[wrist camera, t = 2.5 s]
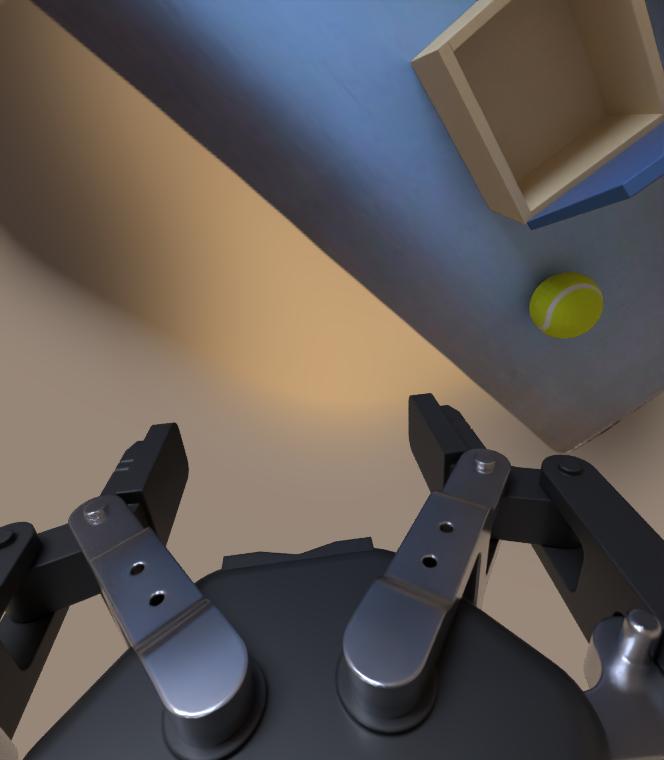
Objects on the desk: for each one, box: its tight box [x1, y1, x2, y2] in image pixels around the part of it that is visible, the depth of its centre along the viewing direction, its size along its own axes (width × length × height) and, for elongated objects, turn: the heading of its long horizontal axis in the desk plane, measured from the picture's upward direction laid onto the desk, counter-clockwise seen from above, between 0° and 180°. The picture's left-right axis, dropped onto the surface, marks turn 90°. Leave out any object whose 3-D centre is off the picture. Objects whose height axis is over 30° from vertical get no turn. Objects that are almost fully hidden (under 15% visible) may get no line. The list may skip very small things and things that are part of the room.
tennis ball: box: [529, 272, 603, 339], centre depth 44 cm, size 7×7×7 cm
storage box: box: [411, 0, 664, 225], centre depth 34 cm, size 15×13×7 cm
